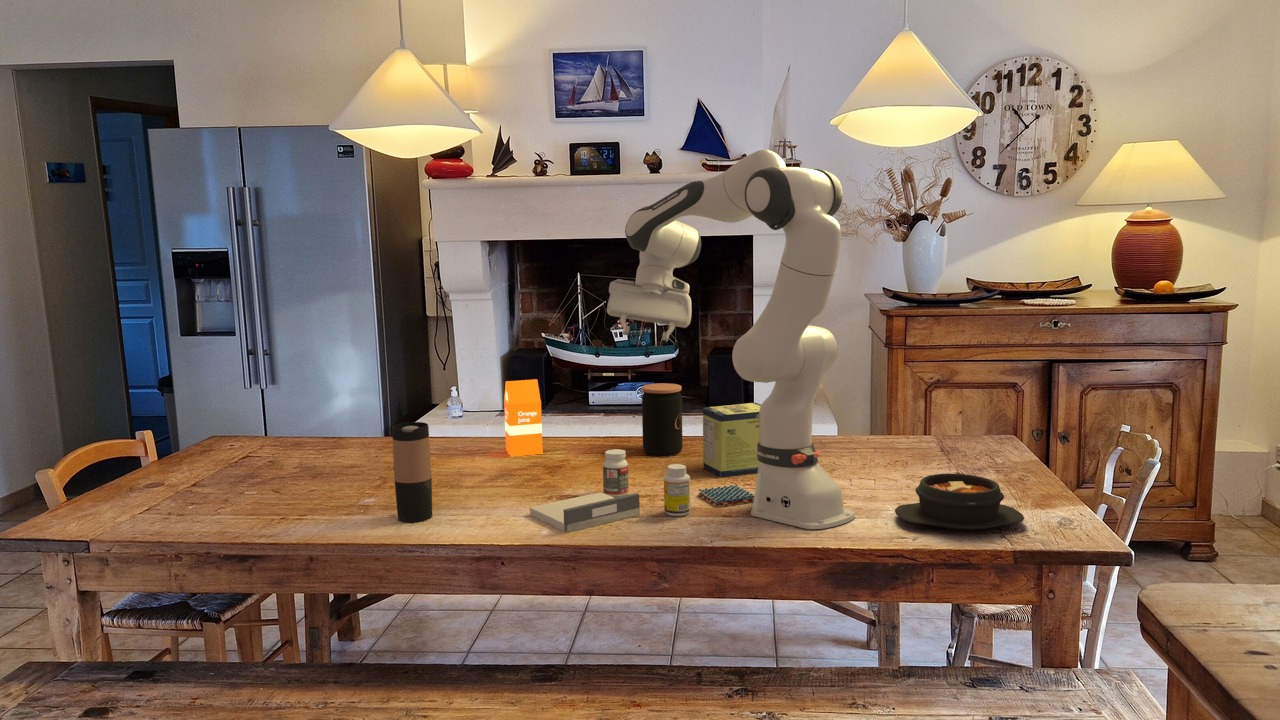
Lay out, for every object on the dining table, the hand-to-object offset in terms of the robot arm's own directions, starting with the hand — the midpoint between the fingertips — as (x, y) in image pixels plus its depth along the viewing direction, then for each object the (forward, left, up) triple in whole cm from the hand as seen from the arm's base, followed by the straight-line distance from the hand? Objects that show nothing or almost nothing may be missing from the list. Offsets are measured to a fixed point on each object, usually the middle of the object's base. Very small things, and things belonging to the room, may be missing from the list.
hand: (645, 337), depth 220 cm
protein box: (-8, -23, -35) cm, 42 cm away
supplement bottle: (-26, +11, -35) cm, 45 cm away
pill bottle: (-6, +13, -35) cm, 38 cm away
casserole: (-67, -29, -35) cm, 80 cm away
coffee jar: (+18, -19, -35) cm, 43 cm away
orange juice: (+42, +10, -35) cm, 56 cm away
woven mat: (-25, -4, -35) cm, 43 cm away
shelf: (-14, +27, -34) cm, 46 cm away
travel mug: (+7, +56, -35) cm, 67 cm away
